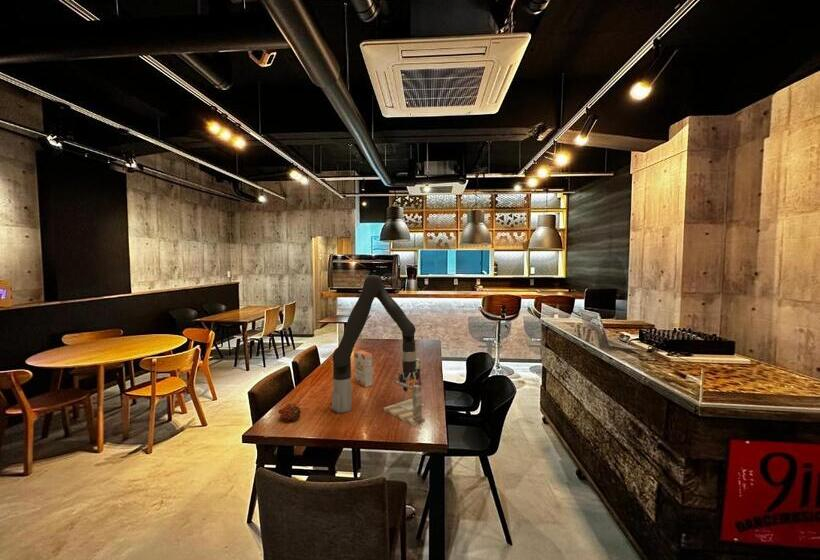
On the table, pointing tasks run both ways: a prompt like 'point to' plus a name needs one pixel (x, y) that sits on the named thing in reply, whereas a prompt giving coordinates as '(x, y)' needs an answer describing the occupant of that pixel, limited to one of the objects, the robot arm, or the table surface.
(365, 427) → the table surface
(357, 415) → the table surface
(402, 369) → the candy bar box
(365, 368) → the cracker box
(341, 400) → the robot arm
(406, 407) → the mat
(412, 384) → the loop
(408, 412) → the hook stand
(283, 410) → the brown rounded piece
